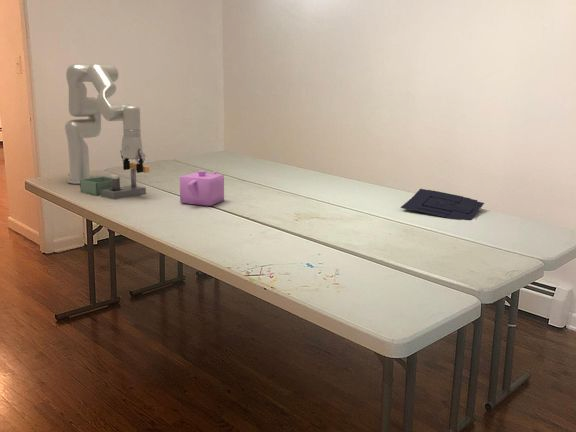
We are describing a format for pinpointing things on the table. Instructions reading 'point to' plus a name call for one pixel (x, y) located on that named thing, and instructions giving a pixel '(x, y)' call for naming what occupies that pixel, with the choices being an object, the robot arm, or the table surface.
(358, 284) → the table surface
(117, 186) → the plug
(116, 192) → the grey post stand
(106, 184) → the bin
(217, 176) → the teapot
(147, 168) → the keeper arm
